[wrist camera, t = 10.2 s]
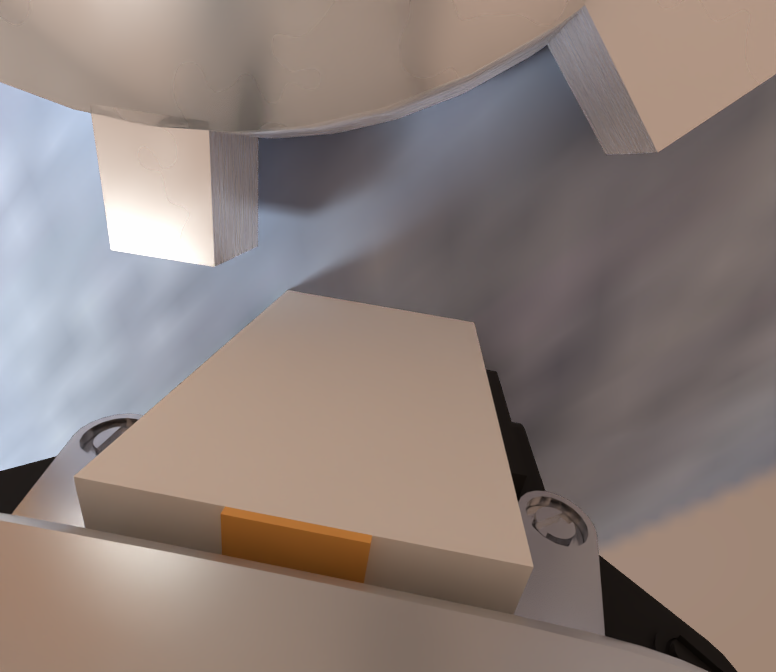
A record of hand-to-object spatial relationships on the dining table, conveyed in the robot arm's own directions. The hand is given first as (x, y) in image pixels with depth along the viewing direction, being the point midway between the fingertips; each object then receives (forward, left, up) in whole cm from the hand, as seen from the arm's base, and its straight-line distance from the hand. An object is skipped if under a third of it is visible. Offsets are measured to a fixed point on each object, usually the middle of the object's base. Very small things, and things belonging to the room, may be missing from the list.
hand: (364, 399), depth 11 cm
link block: (0, 0, -1) cm, 1 cm away
